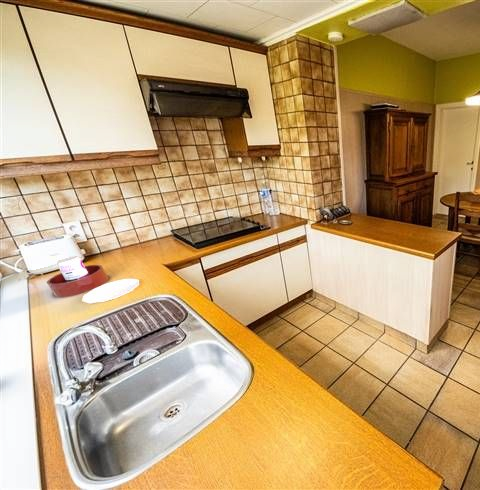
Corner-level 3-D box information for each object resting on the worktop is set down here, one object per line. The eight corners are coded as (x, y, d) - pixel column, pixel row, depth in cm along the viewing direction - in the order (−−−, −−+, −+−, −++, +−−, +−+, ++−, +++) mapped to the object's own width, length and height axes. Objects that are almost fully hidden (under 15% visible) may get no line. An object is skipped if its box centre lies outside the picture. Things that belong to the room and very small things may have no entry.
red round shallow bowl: (42, 299, 126) (34, 286, 123) (77, 278, 144) (71, 267, 141) (87, 294, 128) (80, 282, 125) (117, 274, 146) (111, 263, 143)
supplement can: (91, 279, 141) (77, 254, 135) (94, 284, 136) (79, 258, 130) (70, 286, 136) (54, 260, 130) (71, 291, 131) (56, 264, 125)
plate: (149, 279, 139) (148, 276, 139) (122, 302, 120) (120, 299, 120) (105, 284, 137) (104, 281, 136) (70, 308, 118) (68, 305, 117)
